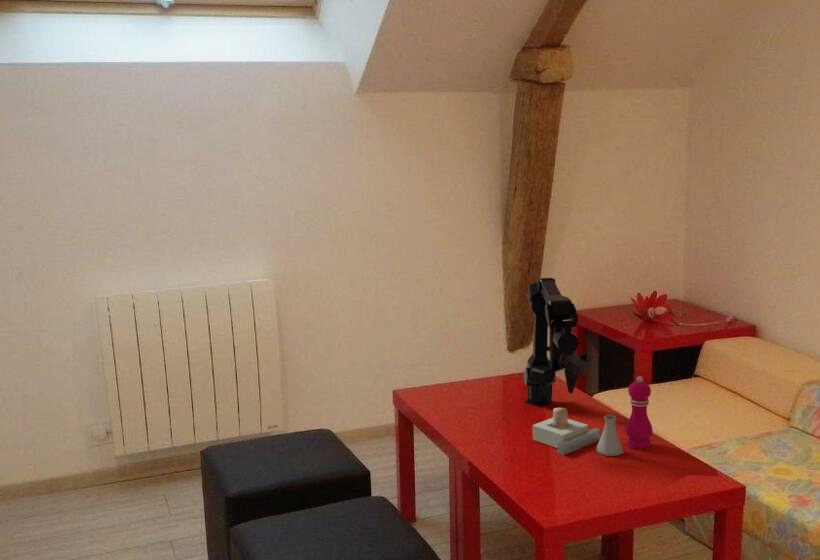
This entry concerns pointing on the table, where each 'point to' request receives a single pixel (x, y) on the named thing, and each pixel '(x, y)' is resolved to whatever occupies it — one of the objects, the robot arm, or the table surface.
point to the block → (556, 432)
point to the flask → (609, 439)
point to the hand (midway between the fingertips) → (560, 396)
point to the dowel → (560, 418)
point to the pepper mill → (639, 416)
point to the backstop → (578, 441)
